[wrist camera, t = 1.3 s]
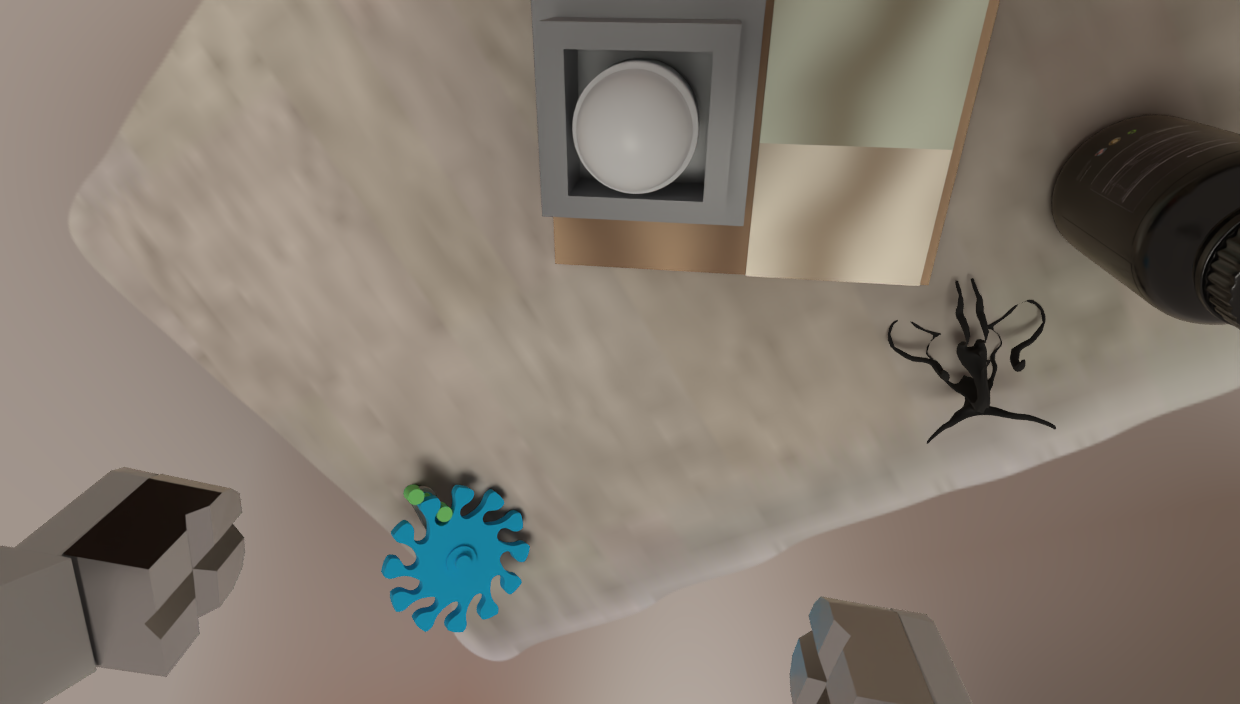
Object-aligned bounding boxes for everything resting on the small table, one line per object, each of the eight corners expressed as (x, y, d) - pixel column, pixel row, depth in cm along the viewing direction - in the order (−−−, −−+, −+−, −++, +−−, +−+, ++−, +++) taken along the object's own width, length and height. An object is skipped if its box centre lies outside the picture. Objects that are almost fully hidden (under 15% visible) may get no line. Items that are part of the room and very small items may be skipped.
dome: (703, 58, 28) (700, 72, 24) (695, 181, 31) (691, 213, 27) (581, 55, 29) (557, 69, 25) (583, 176, 31) (562, 207, 27)
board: (1052, -230, 26) (1061, -236, 25) (925, 280, 36) (929, 286, 35) (538, -217, 28) (533, -222, 27) (557, 259, 38) (554, 265, 37)
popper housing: (763, -9, 30) (771, -6, 25) (741, 207, 35) (745, 247, 30) (546, -11, 32) (511, -8, 26) (555, 199, 36) (527, 236, 31)
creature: (878, 286, 38) (894, 417, 40) (898, 307, 33) (914, 456, 35) (1033, 260, 36) (1041, 400, 38) (1079, 278, 31) (1086, 438, 33)
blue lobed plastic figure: (554, 576, 48) (430, 669, 44) (523, 551, 54) (409, 631, 49) (489, 447, 45) (348, 533, 41) (462, 433, 50) (334, 508, 46)
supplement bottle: (1235, 190, 32) (1483, 294, 21) (1089, 277, 35) (1245, 407, 24) (1166, 76, 30) (1402, 130, 20) (1018, 178, 33) (1155, 273, 22)
